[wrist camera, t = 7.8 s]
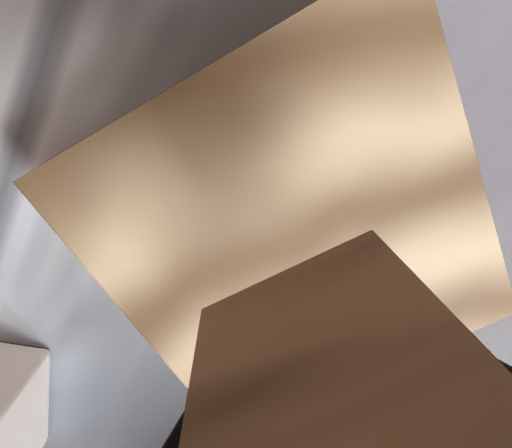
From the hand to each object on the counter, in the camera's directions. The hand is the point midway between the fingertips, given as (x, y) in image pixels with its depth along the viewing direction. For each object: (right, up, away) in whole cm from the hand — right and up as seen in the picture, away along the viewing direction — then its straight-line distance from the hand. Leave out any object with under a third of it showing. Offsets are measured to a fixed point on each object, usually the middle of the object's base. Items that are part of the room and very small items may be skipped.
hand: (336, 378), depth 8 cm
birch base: (0, +3, +8) cm, 9 cm away
